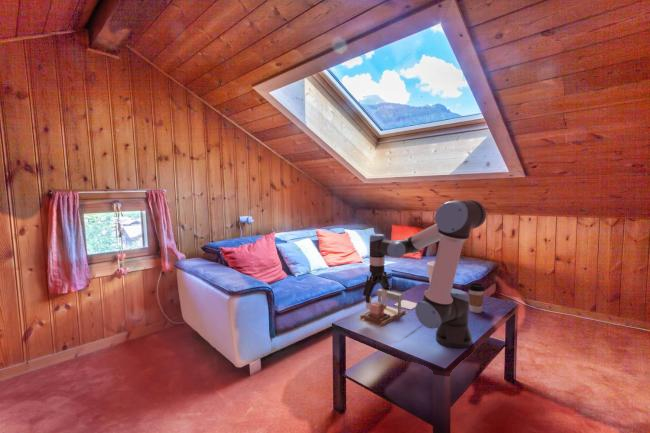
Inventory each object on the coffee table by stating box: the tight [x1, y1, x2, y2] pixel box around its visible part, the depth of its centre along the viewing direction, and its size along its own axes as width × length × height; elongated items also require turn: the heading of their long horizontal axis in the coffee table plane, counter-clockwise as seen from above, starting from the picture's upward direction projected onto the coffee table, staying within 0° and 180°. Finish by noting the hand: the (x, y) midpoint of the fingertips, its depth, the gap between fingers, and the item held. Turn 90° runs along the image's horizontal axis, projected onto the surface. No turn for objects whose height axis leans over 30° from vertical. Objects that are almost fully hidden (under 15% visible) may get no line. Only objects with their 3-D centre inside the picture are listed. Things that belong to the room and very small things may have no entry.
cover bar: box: [376, 288, 403, 313], centre depth 175 cm, size 3×14×10 cm, turn 46°
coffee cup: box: [467, 282, 485, 314], centre depth 180 cm, size 8×8×15 cm
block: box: [369, 301, 384, 319], centre depth 167 cm, size 5×5×8 cm
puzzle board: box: [357, 303, 409, 328], centre depth 172 cm, size 26×14×4 cm, turn 136°
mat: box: [393, 299, 418, 311], centre depth 191 cm, size 11×11×1 cm
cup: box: [426, 260, 435, 283], centre depth 202 cm, size 12×12×22 cm
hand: (376, 305), depth 167 cm, fingers open, 13 cm apart
